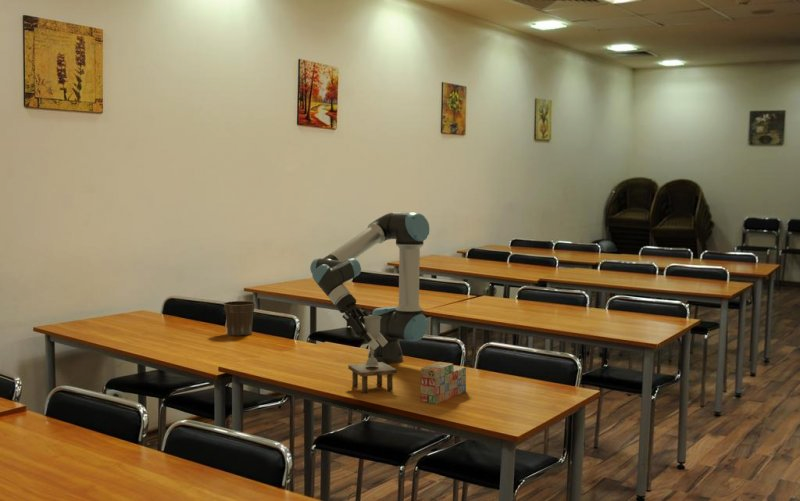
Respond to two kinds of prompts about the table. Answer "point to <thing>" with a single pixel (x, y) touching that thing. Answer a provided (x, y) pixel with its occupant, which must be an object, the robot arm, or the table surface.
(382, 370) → the stool
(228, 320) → the plant pot
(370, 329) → the chalice
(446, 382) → the stack of blocks
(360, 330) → the robot arm
